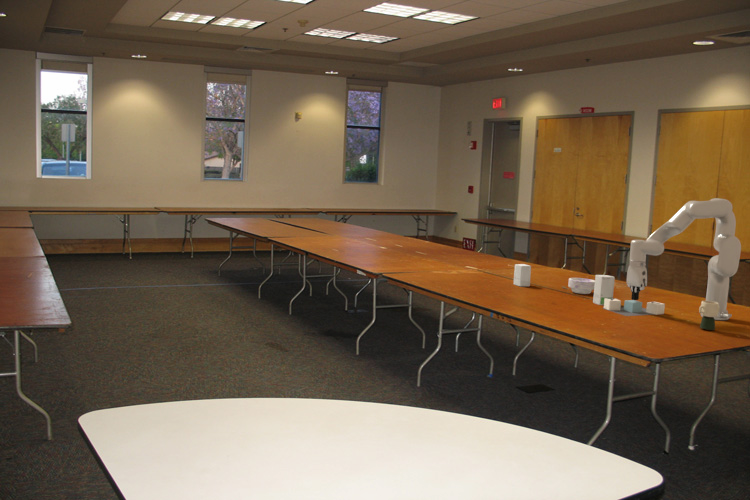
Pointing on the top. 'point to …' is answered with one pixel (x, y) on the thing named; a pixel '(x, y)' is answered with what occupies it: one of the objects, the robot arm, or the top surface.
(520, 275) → the supplement box
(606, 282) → the skincare box
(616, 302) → the digit block seven
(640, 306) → the plain block
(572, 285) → the paper bowls
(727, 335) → the top surface
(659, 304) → the digit block one
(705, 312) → the character mug
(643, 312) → the mat
